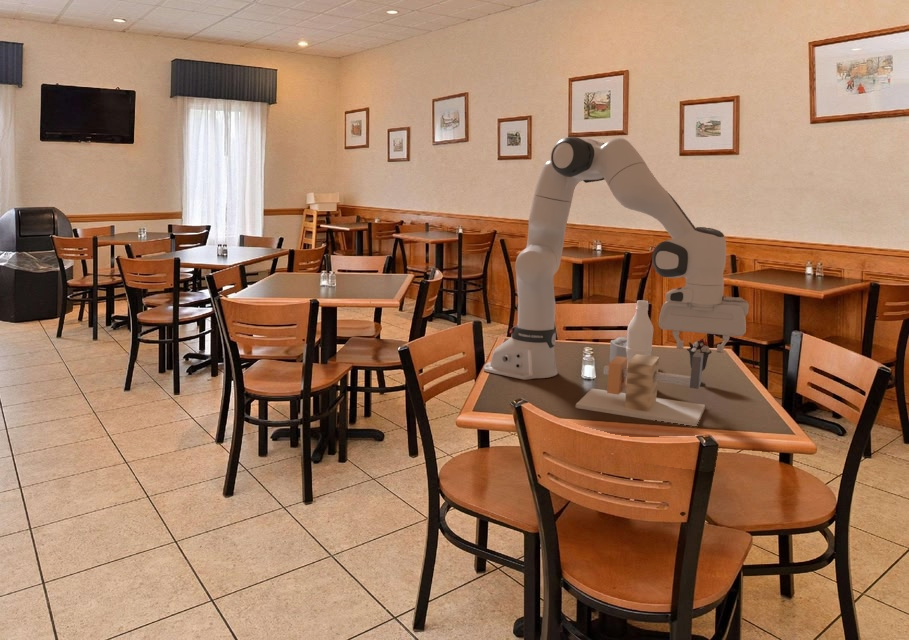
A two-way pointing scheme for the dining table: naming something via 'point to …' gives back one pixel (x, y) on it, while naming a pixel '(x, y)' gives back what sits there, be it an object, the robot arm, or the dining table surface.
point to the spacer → (616, 375)
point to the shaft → (690, 381)
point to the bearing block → (641, 382)
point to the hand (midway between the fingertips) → (699, 350)
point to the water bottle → (639, 333)
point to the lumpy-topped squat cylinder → (618, 348)
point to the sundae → (701, 348)
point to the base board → (659, 411)
